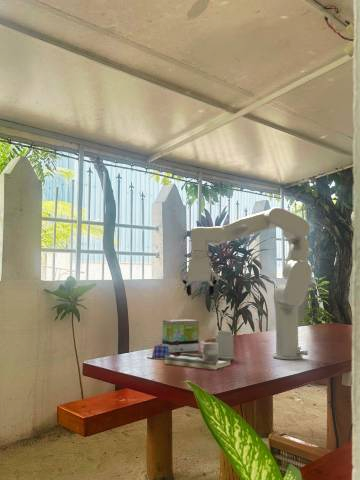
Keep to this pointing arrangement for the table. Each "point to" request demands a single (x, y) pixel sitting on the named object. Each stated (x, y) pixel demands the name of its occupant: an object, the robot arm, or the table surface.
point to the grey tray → (201, 358)
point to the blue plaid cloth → (160, 352)
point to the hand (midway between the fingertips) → (200, 295)
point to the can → (225, 344)
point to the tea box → (181, 335)
